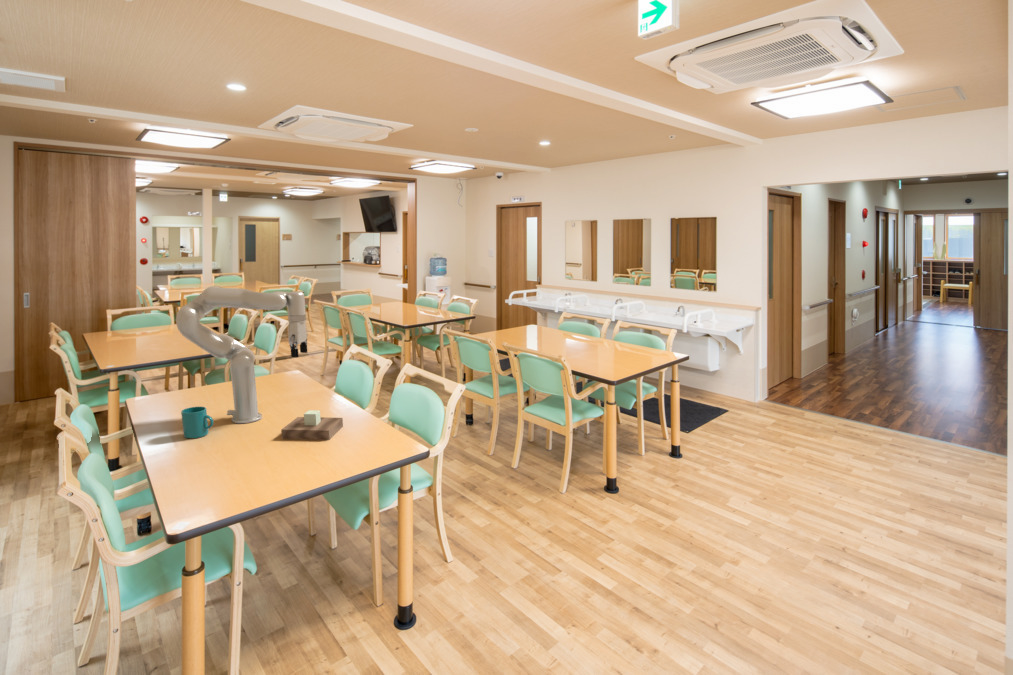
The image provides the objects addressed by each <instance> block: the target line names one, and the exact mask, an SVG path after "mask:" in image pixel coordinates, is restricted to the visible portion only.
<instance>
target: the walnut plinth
mask: <svg viewBox="0 0 1013 675" xmlns="http://www.w3.org/2000/svg"><path fill="white" fill-rule="evenodd" d="M320 419H321V422H320V423H319V424H318V425H316V426H311V425H305V424H304V416H297V417H296V418H294V419H293V420H292V421H291V422H290V423H288V424H286V425H285V426H284V427H283V428H281V430H280V432H281V439H282V440H315V441H316V440H318V441H322V440H323V441H330V440H331V439H332V438H333V437H334V436H335V435H336V434H337V433H338V432H339V431H340V430H341V429H342V428H344V420H343V417H321V416H320Z"/></svg>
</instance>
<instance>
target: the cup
mask: <svg viewBox="0 0 1013 675" xmlns="http://www.w3.org/2000/svg"><path fill="white" fill-rule="evenodd" d="M180 414H181V421H182V423H181V424H182V430H183V432H182V433H183V437H184V438H185V439H188V438H195V439H199V437H200V438H203V436H204V437H206V436H207V435H208V434H209V431H210V430H209V429H211V428H212V427H213V425H214V419H213V418H212V416H210V415H208V413H207V408H206V407H205V406H191V407H187V408H184V409H181V412H180ZM208 420H209V421H208ZM208 422H210V424H209V423H208ZM205 435H206V436H205Z"/></svg>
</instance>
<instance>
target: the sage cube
mask: <svg viewBox="0 0 1013 675" xmlns="http://www.w3.org/2000/svg"><path fill="white" fill-rule="evenodd" d="M303 417H304V424H305V425H311V426H316V425H318V424H319V423H320V422H321V419H320V417H321V410H313V409H311V410H307V411H306V412H304V414H303Z"/></svg>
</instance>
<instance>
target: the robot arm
mask: <svg viewBox="0 0 1013 675" xmlns="http://www.w3.org/2000/svg"><path fill="white" fill-rule="evenodd" d="M285 307H287V319H288V326H287V328H288V329H287V330H288V331H287V332H288V333H287V335H288V336H287V337H288V339H287V340H288V344H289V347H290V357H291V358H299V357H300V356H299V350H300V353H301V354H308V332H307V324H306V322H307V318H306V317H307V316H306V315H307V314H306V300H305V294H304V292H303V291H297V290H295V291H294V290H293V291H281V290H280V291H279V290H278V291H277V290H275V291H273V292H259V291H252V290H250V289H247V288H237V287H235V288H233V287H232V288H231V287H220V286H217V285H212V286H211V285H210V286H208V287H206V288H205V289H204V290H203V292H201V293H199V295H197V296H195V297H194V298H193V299H192V300H190V301H189V302H188V303H186V304H184V305H182V306H181V307H180V308H179V310H178V311H177V314H176V318H175V322H176V323H175V324H176V327H177V330H178V332H179V333H180V335H182V336H183V337H184V338H185V339H187V340H188V341H190V342H191V343H193V344H195V345H196V346H198V347H199V348H200V349H201V350H204V351H205V352H207V353H208V354H209V355H211V356H212V357H214V358H217V359H225V360H227V361H229V370H230V376H231V384H232V386H231V387H232V396H233V407H234V409H227V412H226V415H227V416H232V417H231V422H232V423H235V424H248V423H254V422H257V421H260V420H261V419H262V418H263V414H262V413H260V412H259V408H258V396H257V382H256V374H255V361H256V355H255V353H254V352H253V351H252V349H250V348H249V347H247V346H246V345H244V344H243V343H241V342H240V341H238V340H237V339H235V338H233V337H232V336H230V335H227V334H224V333H220V334H218V333H217V332H215V331H213V330H211V329H210V328H208V327H207V326H205V325H203V324H202V323H201V322H200V321H201V320H202V319H203V318H205V316H207V315H208V314H209V313H211V312H212V311H214V310H215V309H216V308H232V309H233V308H234V309H236V308H237V309H251V310H262V311H263V310H266V311H267V310H269V311H279V310H283V309H284V308H285ZM298 347H299V348H298Z"/></svg>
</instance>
